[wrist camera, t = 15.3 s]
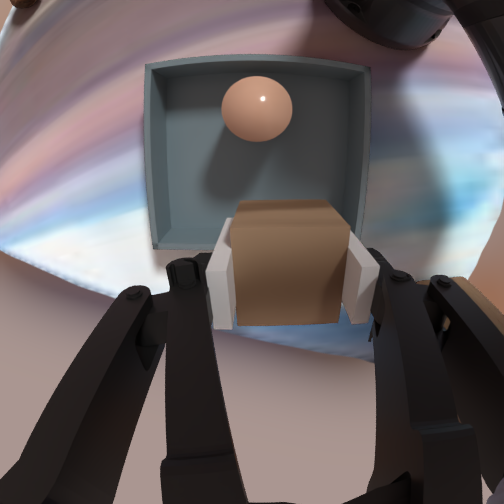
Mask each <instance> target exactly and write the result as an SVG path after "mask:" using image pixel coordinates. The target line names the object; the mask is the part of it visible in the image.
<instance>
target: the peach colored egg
mask: <svg viewBox="0 0 504 504" xmlns="http://www.w3.org/2000/svg"><path fill="white" fill-rule="evenodd" d="M221 109H222V117H223V120H224V122H225V124H226V126H227V127H228V128H229V130H230V131H231V132H232V133H234V134H235V135H236V136H238V137H240V138H242V139H244V140H247V141H253V142H262V141H267V140H270V139H273V138H275V137H276V136H278V135H279V134H281V133H282V132H283V131H284V130H285V129H286V127H287V126H288V124H289V122H290V120H291V116H292V102H291V99H290V96H289V94H288V92H287V91H286V90H285V88H284V87H283V86H282V85H280V84H279V83H278V82H276V81H274V80H272V79H270V78H267V77H262V76H252V77H247V78H244V79H241V80H239V81H238V82H236V83H235V84H233V85H232V86H231V87H230V88H229V89H228V91H227V92H226V94H225V96H224V98H223V101H222V108H221Z"/></svg>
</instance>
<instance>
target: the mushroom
mask: <svg viewBox="0 0 504 504" xmlns="http://www.w3.org/2000/svg"><path fill="white" fill-rule="evenodd" d="M10 1H11V3H12V5H13V6H15V7H16V8H26V7H29V6H32V5H33V4H34V3H35V2H36V1H37V0H10Z"/></svg>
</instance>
